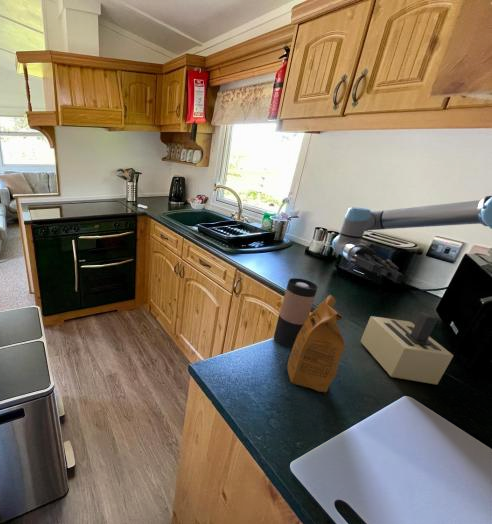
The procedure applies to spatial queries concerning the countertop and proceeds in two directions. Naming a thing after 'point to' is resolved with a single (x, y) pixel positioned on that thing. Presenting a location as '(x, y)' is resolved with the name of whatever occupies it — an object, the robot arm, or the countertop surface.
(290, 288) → the travel mug
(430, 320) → the slide button
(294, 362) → the coffee package
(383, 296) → the countertop surface
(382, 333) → the toaster
